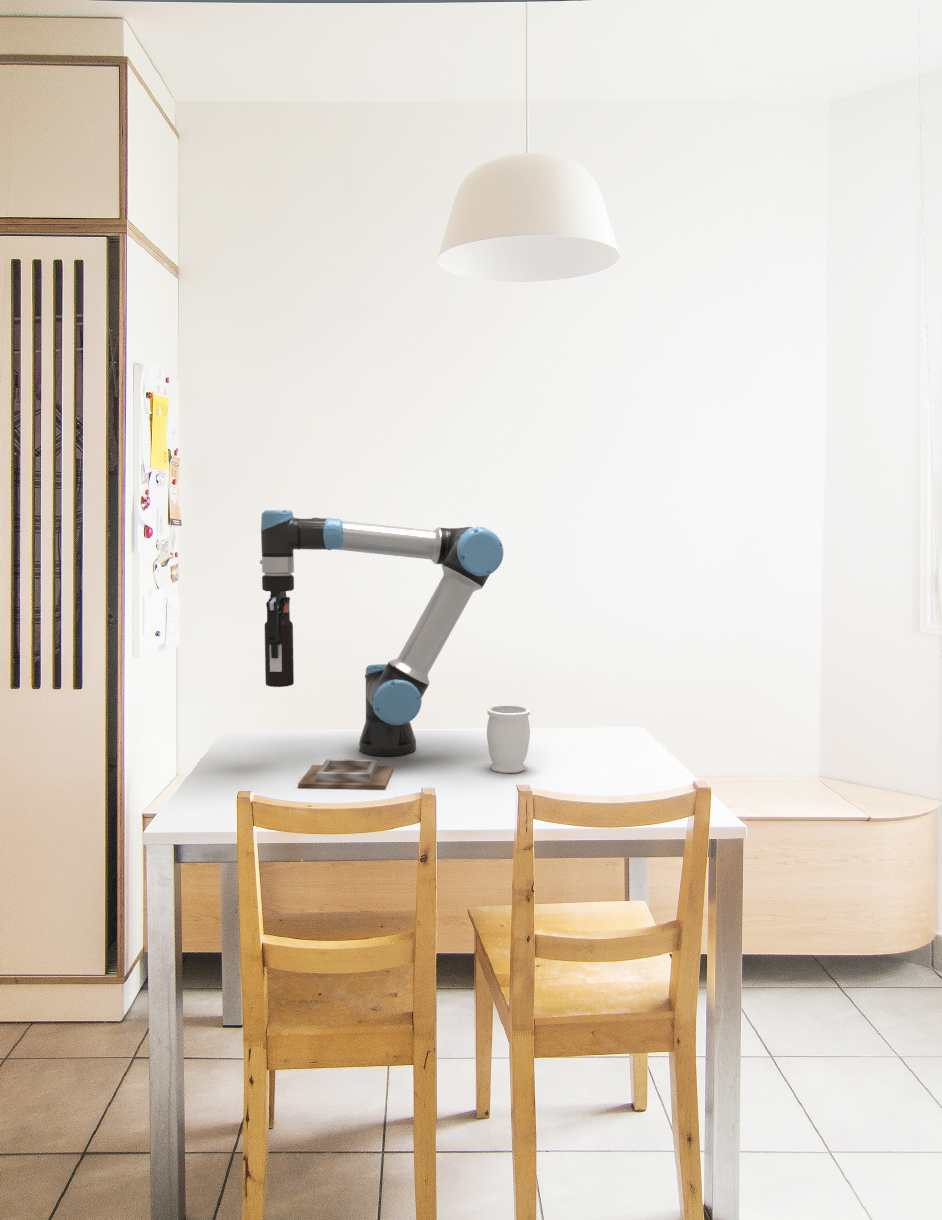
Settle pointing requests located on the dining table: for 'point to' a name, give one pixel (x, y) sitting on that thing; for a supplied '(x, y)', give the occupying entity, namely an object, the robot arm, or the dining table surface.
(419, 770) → the dining table surface
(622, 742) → the dining table surface
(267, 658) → the vinegar
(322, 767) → the tray
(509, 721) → the jar
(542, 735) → the dining table surface
